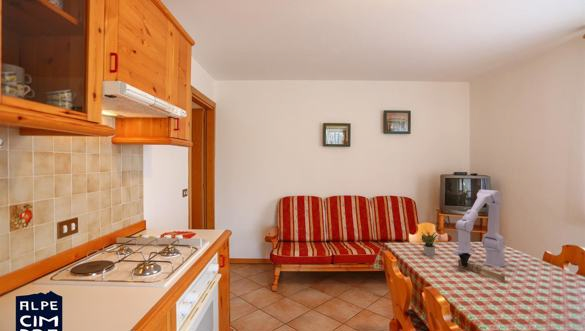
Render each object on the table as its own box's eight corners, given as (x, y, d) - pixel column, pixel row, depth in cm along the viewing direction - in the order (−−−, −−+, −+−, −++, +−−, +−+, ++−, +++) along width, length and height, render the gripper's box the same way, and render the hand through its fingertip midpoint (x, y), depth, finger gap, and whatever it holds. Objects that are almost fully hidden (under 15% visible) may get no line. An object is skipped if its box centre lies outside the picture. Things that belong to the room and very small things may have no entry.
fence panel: (478, 272, 147) (478, 265, 147) (476, 273, 146) (476, 265, 146) (459, 265, 157) (459, 258, 157) (457, 266, 157) (457, 259, 157)
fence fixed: (479, 273, 146) (478, 265, 146) (505, 282, 134) (505, 274, 134) (477, 273, 146) (476, 266, 146) (503, 283, 134) (503, 274, 134)
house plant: (444, 254, 179) (444, 229, 179) (443, 260, 168) (443, 233, 168) (420, 250, 187) (420, 226, 187) (418, 256, 175) (417, 231, 175)
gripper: (462, 245, 146) (462, 270, 146) (480, 242, 152) (480, 266, 152) (450, 241, 153) (450, 266, 152) (467, 239, 158) (467, 262, 158)
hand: (464, 266), depth 152 cm, fingers closed, pressing on fence panel
